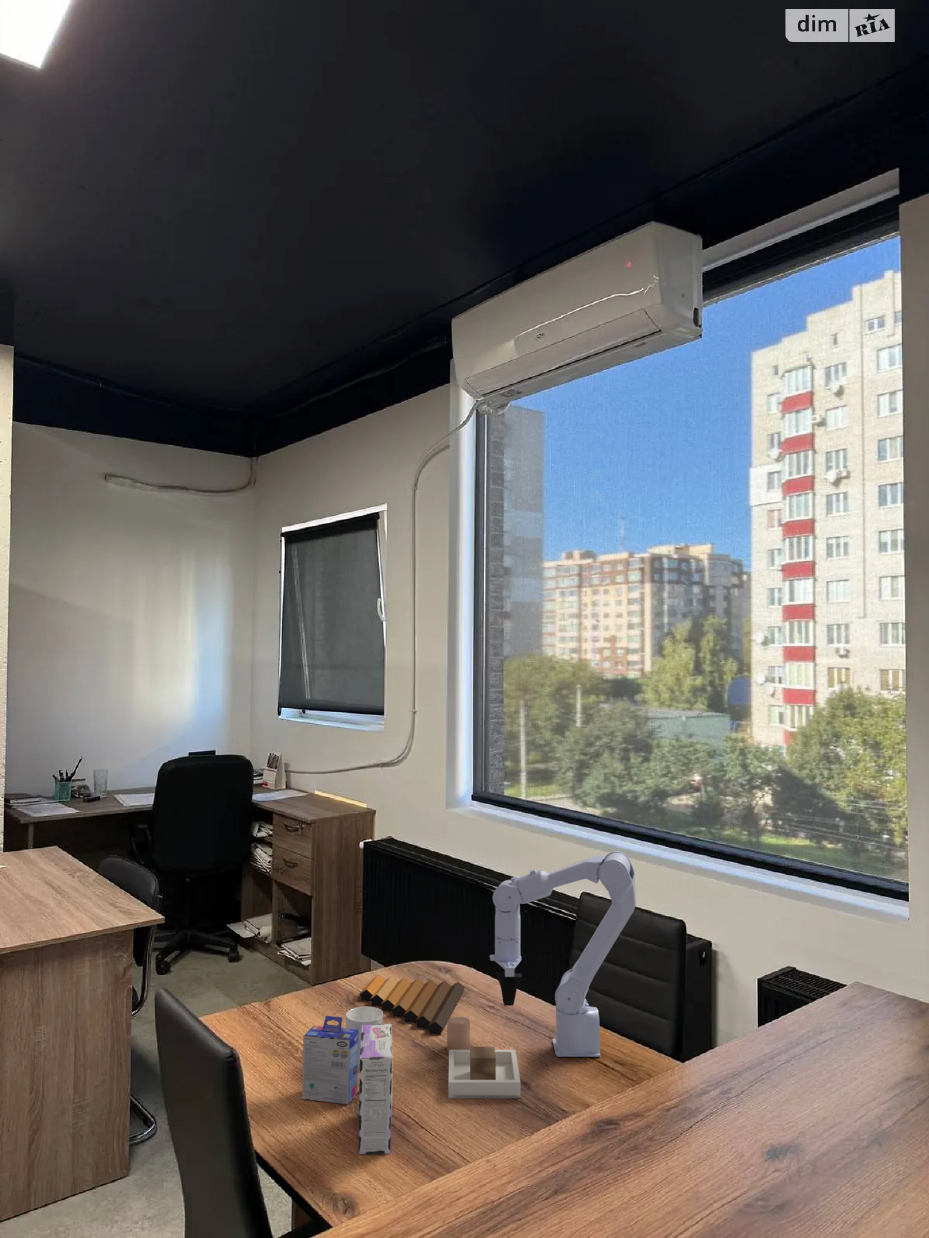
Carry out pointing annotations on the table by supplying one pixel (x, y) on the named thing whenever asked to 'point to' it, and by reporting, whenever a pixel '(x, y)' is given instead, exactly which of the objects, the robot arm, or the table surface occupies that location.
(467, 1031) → the beige rounded cylinder
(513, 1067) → the off-white tray
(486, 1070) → the walnut cube
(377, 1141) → the candy box
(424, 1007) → the pan flute
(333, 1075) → the ink cartridge box
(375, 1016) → the white cup
